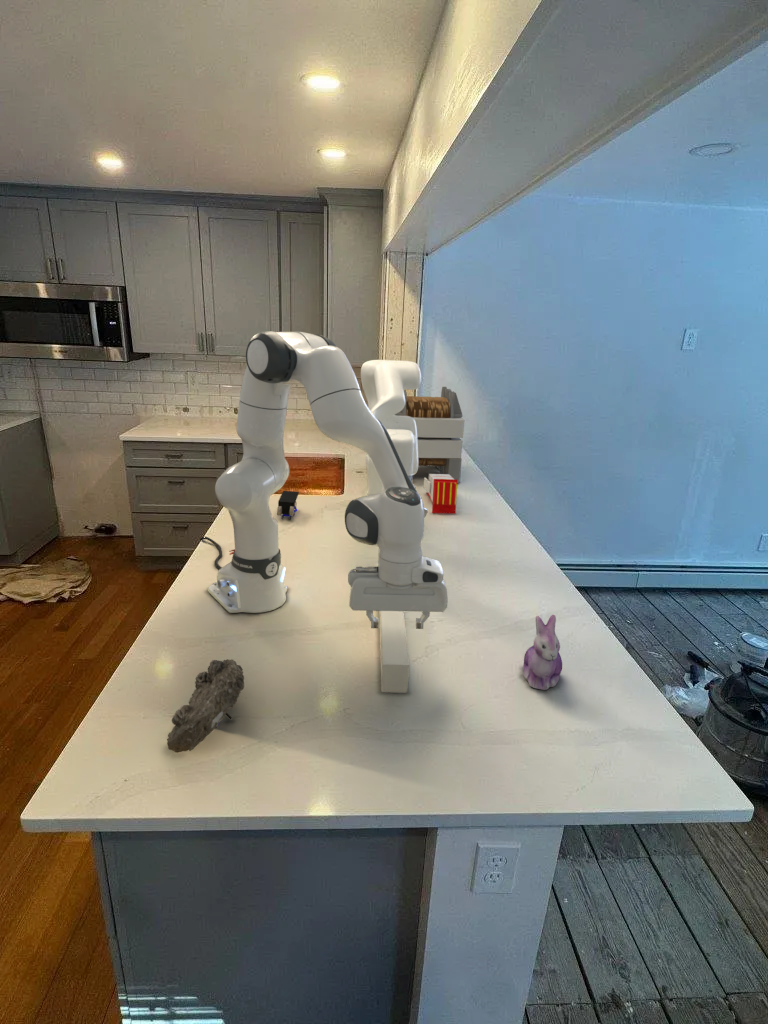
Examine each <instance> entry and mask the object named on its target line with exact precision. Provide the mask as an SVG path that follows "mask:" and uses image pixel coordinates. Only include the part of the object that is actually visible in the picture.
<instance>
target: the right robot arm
mask: <svg viewBox="0 0 768 1024" xmlns="http://www.w3.org/2000/svg"><path fill="white" fill-rule="evenodd" d="M360 380H361V385H362V390H363V392H364V396H365V399H366V401H367V406H368V408H369V409H370V411H371V412H372V414H373V415H374V416H375V417H376V418H377V419H378V420H380V421H381V422H382V424H383V425H384V426H385V428H386V430H387V432H388V434H389V436H390V438H391V440H392V442H393V444H394V446H395V449H396V451H397V453H398V455H399V457H400V460H401V462H402V464H403V466H404V469H405V471H406V473H407V475H408V477H409V479H410V481H411V483H412V485H413V486H414V488H415V489H416V485H415V483H413V478H414V476H415V475H416V474H417V473H418V470H419V466H418V463H419V462H418V439H417V426H416V422H415V420H414V419H413V418H412V417H410V416H396V415H395V414H397V413H399V412H400V411H401V410H402V409H403V408H404V406H405V396H404V390H406V391H407V390H411V391H412V390H413V391H415V390H418V389H419V387H420V386H421V383H422V371H421V368H420V366H419V364H418V363H417V362H414V361H411V360H393V359H370V360H367V361H365V362H364V363H363V364H362V365H361V368H360ZM365 466H366V474H367V475H366V478H367V479H366V480H367V484H366V485H367V491H366V496H367V495H371V494H377V493H381V492H384V491H385V488H384V486H383V483H382V481H381V479H380V477H379V475H378V472H377V470H376V468H375V466H374V464H373V461H372V459H371V458H370V457H369V455H368V454H367V453H366V455H365ZM428 513H429V510H428V508H426V507H424V519H425V518H426V516H427V515H428Z"/></svg>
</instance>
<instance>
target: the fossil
mask: <svg viewBox="0 0 768 1024" xmlns="http://www.w3.org/2000/svg"><path fill="white" fill-rule="evenodd" d="M243 670H244V669H243V667H242V665H240V664H237V662H236V661H235V660H234V659H232V658H231V659H227V658H226V659H224V660H223V661H222V660H217V659H212V660H211V661H210V663H209V665H208V666H207V671H201V672H199V673H198V674H197V675H196V676H195V680H194V684H195V685H194V687H195V689H194V690H193V693H192V694H191V697H190V698H189V700H188V704H184V705H182V706H181V707H180V709H177V710H176V711H175V713H174V715H173V716H172V718H171V723H172V724H173V727H172V730H171V731H170V732H168V734H167V738H166V741H167V742H166V745H167V749H168V750H169V751H173V752H174V753H176V754H178V753H182V752H188V751H189V752H192V751H193V750H195V748H196V747H197V746H199V744H200V743H201V742H203V741H204V740H205V739H206V738H207V737H208V736H209V735H210V734H211V733H212V732H214V730H215V729H217V727H218V726H219V724H220V722H221V721H222V720H223V719H224V718H225V716H226V717H227V719H229V720H233V717H232V715H230V714H229V710H230V709H231V708H234V706H235V704H236V703H237V702H238V699H239V697H240V695H241V693H242V691H243V690H245V689H244V688H245V675H244V671H243Z"/></svg>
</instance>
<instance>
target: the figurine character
mask: <svg viewBox="0 0 768 1024" xmlns="http://www.w3.org/2000/svg"><path fill="white" fill-rule="evenodd" d="M299 494H300V492H299V491H291V490H283V491H282V492H281V495H280V497H279V499H278V501H277V508H276V515H277V516H281V518H280V520H284V518H288V520H289V521H290V520H291V519H292V517H293V516H295V513H297V512H298V509H297V499H298V496H299Z"/></svg>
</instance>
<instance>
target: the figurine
mask: <svg viewBox="0 0 768 1024" xmlns="http://www.w3.org/2000/svg"><path fill="white" fill-rule="evenodd" d="M556 622H557V618H556V615H555V614H551V615H550V616H549V618H548V620H547V623H546V624H545V623H544V621H543V619H542V618H541V617H540V616H539V615H536V616H535V631H536V636H535V637H534V640H533V645H532V646H530V647H528V649H527V650H526V651H525V653H524V657H523V666H522V675H523V678H524V679H525V680H526V681H527V683H528V685H529V686H530V687H531V688H534V689H538V690H542V691H546V690H548V689H550V688H553V687H555V686H556V685H557V684H558V682H559V679H560V675H561V673H562V671H563V660H562V656H561V654H560V649H561V644H560V641H559V640H560V639H559V638H558V636H557V634H556Z"/></svg>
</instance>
